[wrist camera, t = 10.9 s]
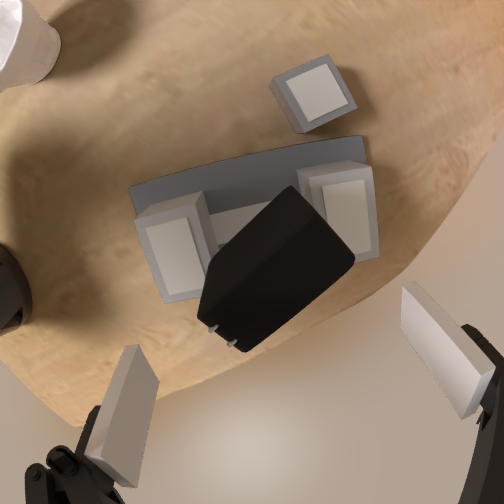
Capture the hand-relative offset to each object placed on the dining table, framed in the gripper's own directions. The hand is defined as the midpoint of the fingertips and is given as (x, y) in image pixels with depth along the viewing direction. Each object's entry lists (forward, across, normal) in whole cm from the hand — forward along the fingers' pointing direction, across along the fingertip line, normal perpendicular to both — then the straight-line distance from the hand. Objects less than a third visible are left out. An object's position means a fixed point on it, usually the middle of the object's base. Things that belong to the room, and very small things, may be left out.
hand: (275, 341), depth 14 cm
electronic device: (+15, +1, 0) cm, 15 cm away
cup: (+23, -22, +29) cm, 43 cm away
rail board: (+22, +1, 0) cm, 22 cm away
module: (+22, +9, +12) cm, 26 cm away
